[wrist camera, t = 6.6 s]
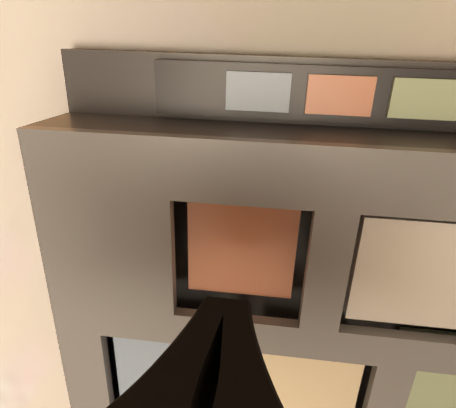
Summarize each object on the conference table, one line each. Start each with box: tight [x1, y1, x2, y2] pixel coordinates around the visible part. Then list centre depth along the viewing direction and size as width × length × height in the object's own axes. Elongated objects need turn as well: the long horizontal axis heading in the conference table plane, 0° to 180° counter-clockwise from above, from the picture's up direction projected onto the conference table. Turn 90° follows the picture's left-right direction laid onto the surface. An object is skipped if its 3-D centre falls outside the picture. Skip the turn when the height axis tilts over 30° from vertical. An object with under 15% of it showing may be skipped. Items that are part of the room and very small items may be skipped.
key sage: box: [399, 327, 456, 408], centre depth 17 cm, size 4×4×2 cm
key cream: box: [343, 215, 456, 329], centre depth 14 cm, size 4×4×2 cm
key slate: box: [113, 337, 171, 395], centre depth 18 cm, size 4×4×2 cm
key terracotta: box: [187, 202, 301, 299], centre depth 16 cm, size 4×4×2 cm
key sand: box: [262, 354, 365, 408], centre depth 17 cm, size 4×4×2 cm
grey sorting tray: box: [17, 49, 456, 408], centre depth 16 cm, size 22×18×4 cm
